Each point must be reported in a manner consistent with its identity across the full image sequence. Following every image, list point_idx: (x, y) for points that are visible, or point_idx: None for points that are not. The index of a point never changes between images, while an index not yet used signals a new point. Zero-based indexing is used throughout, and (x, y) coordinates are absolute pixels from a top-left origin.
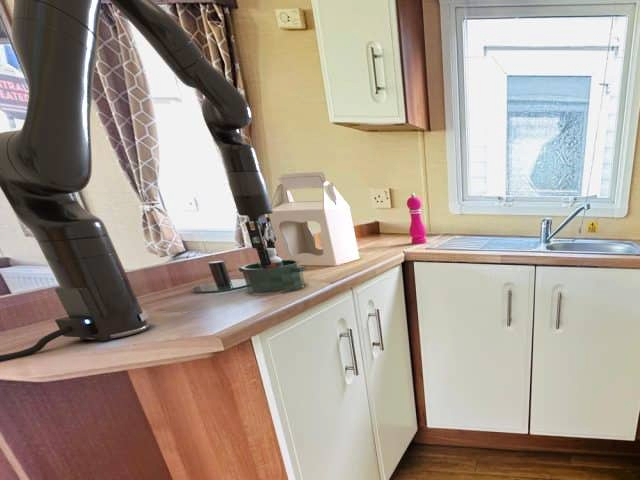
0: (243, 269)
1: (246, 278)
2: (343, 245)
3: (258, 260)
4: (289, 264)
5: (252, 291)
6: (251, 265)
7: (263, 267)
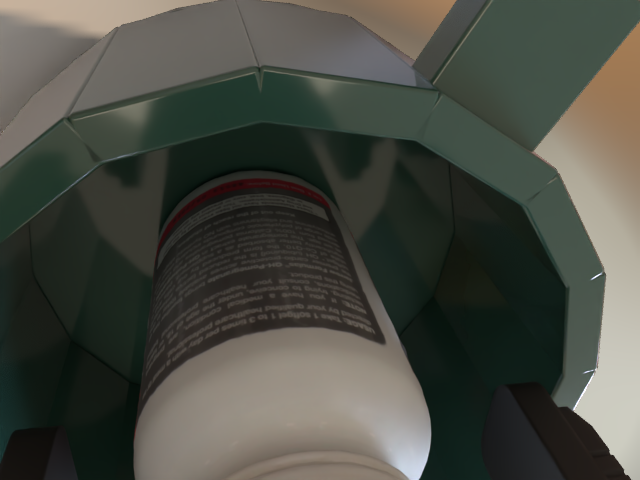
0: (8, 157)
1: (40, 109)
2: None
3: (235, 383)
4: (460, 456)
5: (39, 93)
6: (452, 160)
7: (151, 367)
